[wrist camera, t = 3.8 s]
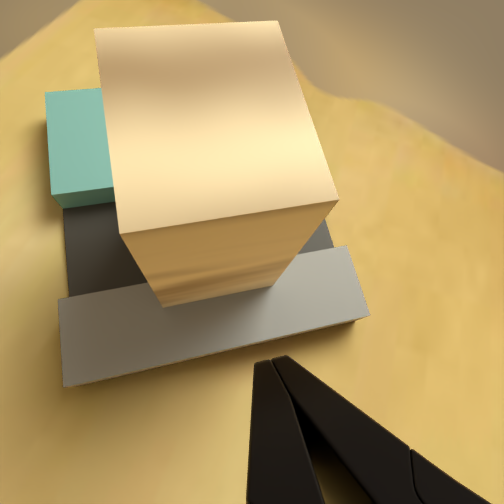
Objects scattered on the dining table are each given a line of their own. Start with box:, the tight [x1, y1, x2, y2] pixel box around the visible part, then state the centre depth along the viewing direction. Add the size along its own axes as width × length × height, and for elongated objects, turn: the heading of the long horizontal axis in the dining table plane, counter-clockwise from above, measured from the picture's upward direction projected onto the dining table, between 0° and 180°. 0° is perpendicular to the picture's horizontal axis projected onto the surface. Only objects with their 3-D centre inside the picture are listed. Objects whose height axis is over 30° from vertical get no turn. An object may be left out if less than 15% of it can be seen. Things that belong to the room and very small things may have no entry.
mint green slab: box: [45, 88, 115, 209], centre depth 23 cm, size 7×16×2 cm, turn 103°
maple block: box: [94, 21, 339, 308], centre depth 15 cm, size 7×6×10 cm
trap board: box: [58, 202, 370, 387], centre depth 21 cm, size 18×16×2 cm
